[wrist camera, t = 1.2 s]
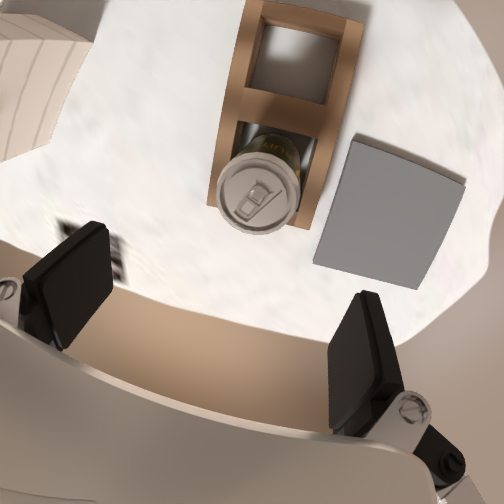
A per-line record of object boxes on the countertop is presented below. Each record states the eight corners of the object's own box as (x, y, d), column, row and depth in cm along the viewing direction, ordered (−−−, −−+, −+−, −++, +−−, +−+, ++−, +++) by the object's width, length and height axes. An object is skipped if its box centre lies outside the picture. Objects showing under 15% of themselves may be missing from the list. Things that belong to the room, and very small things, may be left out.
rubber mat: (351, 139, 25) (353, 140, 25) (462, 184, 25) (465, 187, 24) (312, 259, 33) (313, 263, 32) (415, 286, 32) (416, 290, 31)
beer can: (277, 194, 29) (264, 253, 19) (235, 163, 28) (196, 205, 18) (311, 155, 27) (318, 193, 17) (266, 121, 26) (245, 136, 16)
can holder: (252, 9, 20) (246, -2, 17) (356, 32, 20) (364, 24, 17) (216, 193, 30) (206, 205, 27) (308, 216, 30) (309, 230, 27)
